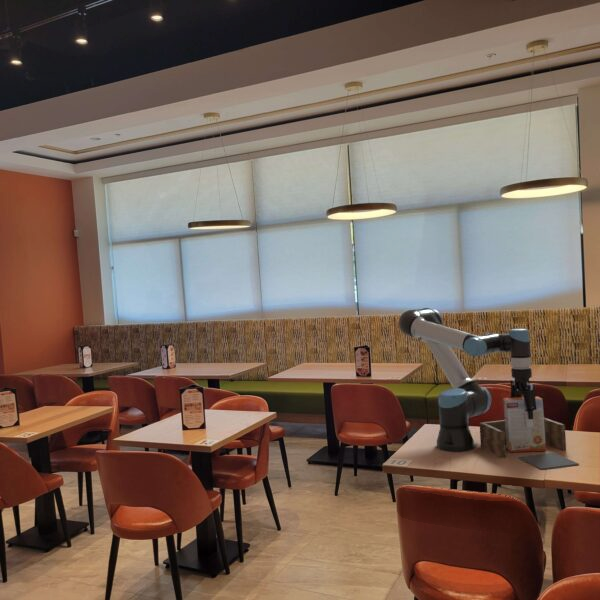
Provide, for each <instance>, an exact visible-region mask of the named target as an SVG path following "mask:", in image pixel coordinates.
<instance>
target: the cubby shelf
mask: <svg viewBox="0 0 600 600" xmlns="http://www.w3.org/2000/svg"><path fill="white" fill-rule="evenodd" d="M544 428H545V444H547V445H549V446H551V447H553V446H554V448H556V447H557V448H556V449H558V448H559V450H561V449H562V450H561V451H567V441H566V438H567V437H566V425H565V424H564V423H562V422H558V421H555V420H552V419H549V418H548V417H547V418H546V417H544ZM479 435H480V436H479V438H480V447H481V448H482V447H483V448H482V449H485V450H486V451H488V452H490V453H491V454H494V455H496V456H497V457H500V458H501V459H504V458H506V455H507V454H506V446H507V445H506V430H505V419H501V420H492V421H491V420H490V421H483V422H479Z"/></svg>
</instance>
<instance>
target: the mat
mask: <svg viewBox="0 0 600 600" xmlns="http://www.w3.org/2000/svg"><path fill="white" fill-rule="evenodd" d="M517 459H519V460H521V461H523V462H525V463H527V464H529V465H531V466H533V467H534V468H537V469H538V470H540V471H542V470H544V471H545V470H551V468H552V469H558V468H557V467H560V468H566V466H567V467H573V465H575V466H579V465H580V463H578V462H576V461H573V460H571V459H569V458H568V457H565V456H562V455H560V454H557V453H556V452H547V453H546V452H545V453H538V454H531V455H530V454H529V455H523V456H522V455H521V456H518V457H517Z"/></svg>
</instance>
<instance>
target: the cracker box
mask: <svg viewBox="0 0 600 600" xmlns="http://www.w3.org/2000/svg"><path fill="white" fill-rule="evenodd" d="M502 399H503V412H504V413H503V415H504V420H505V430H506V445H505V446H506V449H507V451H509V452H510V453H518V452H522V453H523V452H524V453H525V452H544V451H547V448H546V447H547V446H546V443H545V428H544V418H545V414H544V402H543V398H541V397H540V396H538V395H537V396H536V395H535V400H536V408H537V409H536V410H534V411H533V426H534V427H529V428H527V427H526V414H525V410H527V409H526V405H525V401H524V397H523V396H522V397H515V398H511V397H504V398H502Z"/></svg>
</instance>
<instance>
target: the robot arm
mask: <svg viewBox="0 0 600 600" xmlns="http://www.w3.org/2000/svg"><path fill="white" fill-rule="evenodd" d="M443 322H444V319H443V317H442V315H441V313H440V312H439V311H438V310H437V309H435V308H431V307H430V308H429V307H424V308H418V309H409V310H407V311H404V312H403V313H401V315H400V316H399V319H398V327H399V330H400V331H401V332H402V334H404V335H405V336H408V337H411V338H413V339H419V340H420V341H421V343H426V345H427V347H428V348H429V350H430V351H431V354H432V355H433V356H434V358H435V360H436V362H437V363H438V366H439V367H440V368H441V370H442V372H443V374H444V375H445V377H446V379H447V380H448V382H449V384H450V385H451V387H452V388H447V389H445V390H442V391H441V392H440V393H439V394H438V401H437V403H438V404H437V405H438V415H439V431H438V435H437V438H436V448H438V449H439V448H440V449H439V450H442V451H446V450H448V451H447V452H465V450H466V451H469V450H472V449H474V448H475V441H474V437H473V435H472V433H471V431H470V427H469V426H470V425H469V419H470V418H472V417H476V416H481V415H482V414H484V413H485V414H486V413H487V411H488V410H490V407H491V403H492V396H491V392H490V391H489V390H488V389H487V388H486V387H483V386H481V385H479V383H478V381H477V380H476V379H474V378H471V377H470V375H469V374H468V372H467V371H466V369H465V367H464V366H463V363H462V362H461V361H460V360H459V357H458V355H456V353H455V352H454V349H456V350H459V351H464V352H465V353H466V354H467V355H468V356H469V357H481V356H486V355H490V354H494V353H509V355H510V367H511V369H510V370H511V371H510V372H511V377H512V378H513V379H512V380H510V381H509V382H510V398H515V397H524V401H525V405H526V409H527V410H525V414H526V427H527V428H529V427H534V426H533V411H534V410H536V409H537V408H536V400H535V397H536V393H535V388H536V386H535V384H531V383H530V378H532V377H533V375H532V368H531V367H532V359H531V339H530V338H531V336H530V332H529V330H528V329H526V328H512V329H509V331H508V333H495V332H492V333H484V335H476V334H473V333H470V332H467V331H464V330H463V331H462V330H459V329H456V328H452V327H449V326H445V325H444V323H443ZM453 348H454V349H453Z"/></svg>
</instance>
